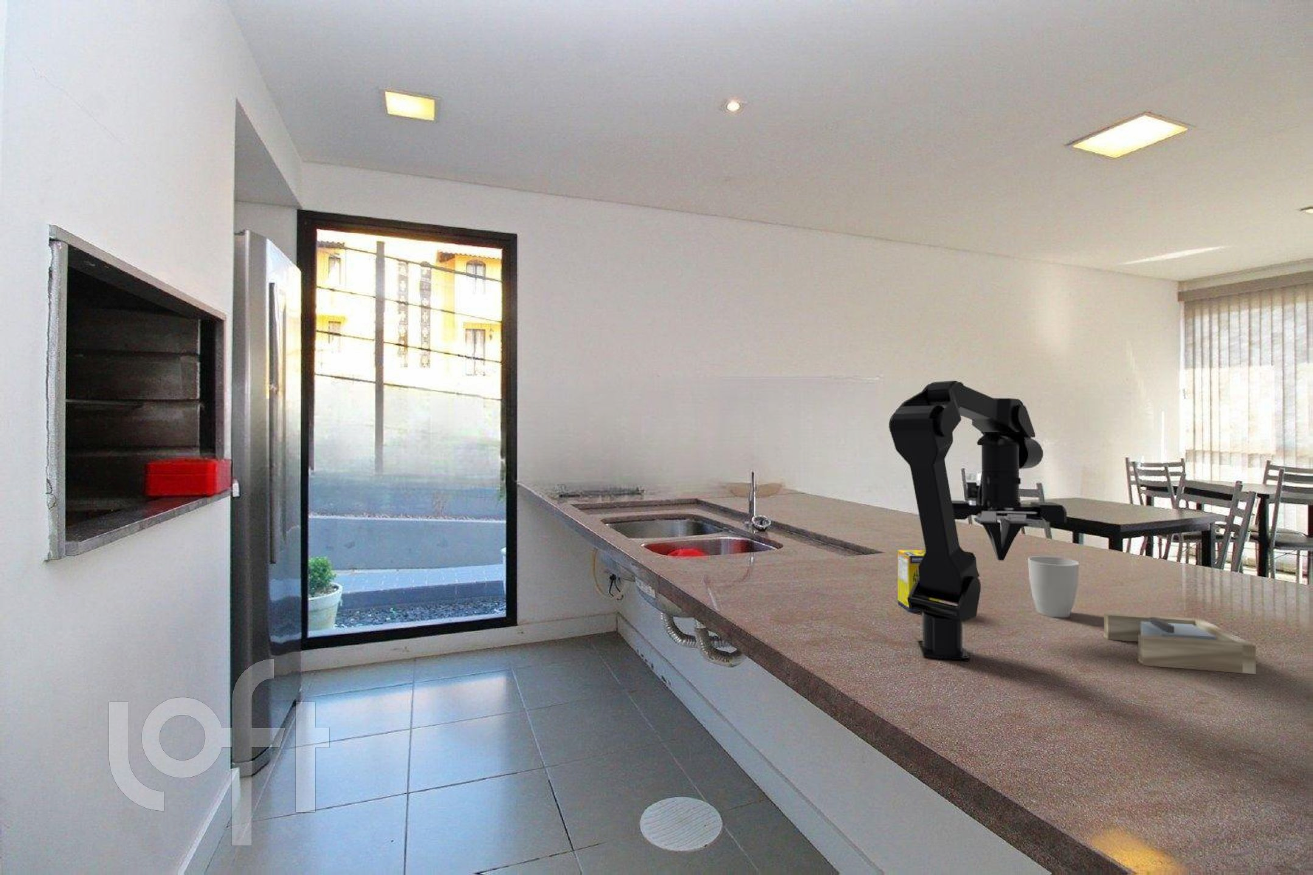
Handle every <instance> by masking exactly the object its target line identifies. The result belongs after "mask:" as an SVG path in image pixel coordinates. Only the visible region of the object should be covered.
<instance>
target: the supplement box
mask: <svg viewBox="0 0 1313 875" xmlns="http://www.w3.org/2000/svg"><path fill="white" fill-rule="evenodd" d="M924 554H925V549H898V550H897V604H898V605H900V606H901V607H903V609H905V610H906V611H908V612H911V613H915V612H917V613H922V612H921V611H917V610H911V609H909V604H908V600H907V598H908V596H909V593H910V591H911V589H912V587H913V585H914V583H915V581H916V579H917V577H918V575H919V574H918V565H919V563H920V562H921V560H922V558H923V556H924ZM929 600H933V601H937V602H940V600H937V599H932V598H929Z"/></svg>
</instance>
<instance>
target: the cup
mask: <svg viewBox="0 0 1313 875" xmlns="http://www.w3.org/2000/svg"><path fill="white" fill-rule="evenodd" d="M1027 562H1028V578H1029V580H1028V581H1029V585H1030V591H1031V595H1032V599H1033V602H1034V605H1035V609H1036V612H1037V613H1038V614H1041V615H1043V616H1047V617H1053V618H1068V617H1070V614H1071V612H1072V609H1073V607H1074V605H1075V600H1076V595H1077V590H1078V585H1079V574H1080V573H1079V570H1080V563H1079V562H1078V561H1077V560H1073V559H1070V558H1064V557H1059V556H1058V557H1057V556H1042V555H1039V556H1029V557H1028V558H1027Z"/></svg>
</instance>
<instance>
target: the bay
mask: <svg viewBox="0 0 1313 875" xmlns="http://www.w3.org/2000/svg"><path fill="white" fill-rule="evenodd" d="M1151 617H1157V618H1159V619H1161V620H1163V621H1165V622H1166V623H1176V624H1192V625H1194V626H1196V627H1198V628H1200V629H1202V630H1204V631H1206V632H1208V633H1210V634H1212V635H1214V636H1216V637H1217V640H1207V639H1192V638H1177V637H1162V636H1148V635H1141V622H1151ZM1103 629H1104V630H1103V631H1104V632H1103V636H1104V638H1105V639H1107V640H1111V641H1112V640H1114V641H1127V642H1138V644H1137V645H1138V646H1137V647H1138V648H1137V650H1138V652H1137V653H1138V657H1137V658H1138V660H1137V661H1138V663H1140V665H1143V666H1148V667H1149V666H1150V667H1160V668H1161V667H1162V668H1163V667H1164V668H1174V669H1188V670H1200V671H1212V672H1226V673H1238V674H1252V675H1256V666H1257V665H1256V664H1257V663H1256V658H1257V657H1256V650H1257V649H1256V645H1255V644H1253V643H1251V642H1249V641H1247V640H1245V639H1243V638H1241V637H1239V636H1236V635H1234V634H1232V633H1230V632H1229V631H1227V630H1225V629H1223V628H1221V627H1219V626H1217V625H1214V624H1212V623H1211V622H1209V621H1207V620H1204V619H1203V618H1201V617H1200V618H1198V617H1183V616H1182V617H1181V616H1164V615H1153V614H1151V615H1147V614H1133V613H1131V614H1130V613H1118V612H1116V613H1113V612H1103Z"/></svg>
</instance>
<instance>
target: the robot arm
mask: <svg viewBox="0 0 1313 875" xmlns="http://www.w3.org/2000/svg"><path fill="white" fill-rule="evenodd" d="M962 417H964V418H967V419H970V420H971V425H972V427H974V428H975V429H977V430H978V431H979V432H980V434H982V436H981V437H980V438H978V440H977V441H976V444H977V446H981V475H980V483H979V485H978V483H977V482H975V481H974V482H973V481H969V482H968V481H966V482H965V483H963V496H964V497H963V498H964V500H958V499H957V500H954V499H953V500H952V495H951V488H950V483H949V479H948V478H949V476H948V472H947V465H946V461H945V460H946V458H947V455H948V453H949V450H950V449H951V447H952V445H953V443H954V436H953V435H954V434H953V432H954V431H955V429H957V426H958V425H959V424H960V423H961V421H962ZM888 429H889V432H890V435H891V439H892V441H893V445H894V448H895V450H896V452H897V454H899V455H900V456H901V457H902V459H903V460H904V461H905V463H907V464H908V465H909V469H910V473H911V474H910V475H911V479H912V485H913V490H914V496H915V500H916V504H917V505H916V506H917V511H918V516H919V522H920V528H921V533H922V538H923V544H924V550H925V554H924V556H923V558H922V560H921V562H920V563H919V565H918V574H919V575H918V577H917V579H916V581H915V583H914V585H913V587H912V589H911V591H910V593H909V596H908V598H907V600H908V604H909V609H911V610H917V611H921V612H920V613H922V614H921V615H922V616H921V617H922V618H921V619H922V630H921V632H922V640H917V641H916V642H917V646H918V648H919V651H920V653H921V656H923V657H924V658H931V659H943V660H944V659H945V660H956V661H970V656H969V654H968V653H967V651H966V650H965V648H964V647H963V646H964V645H963V644H964V643H963V641H964V640H963V636H964V634H963V632H964V631H963V630H964V629H963V622H966V621H968V620H971V619H974V618H976V617H977V613H978V609H979V608H978V607H979V601H980V597H981V596H980V595H981V590H982V587H981V585H982V584H981V580H980V579H979V577H980V573H979V571H978V566H977V557H976V556H975V554H974V552H972V551H965V550H963V548H962V547H961V546H960V541H959V535H958V528H957V525H956V521H958V520H961V521H965V520H967V519H968V518H969V517H970V516H975V517H974V518H973V519H974V522H975V523H977V524H979V525H981V526H983V528H984V530H985V532H986V534H987V535H988V537H989V541H990V542H991V544H990V545H991V546H992V549H993V552H994V554H995V558H996V560H998V561H1002V562H1003V561H1005V559H1006V557H1007V555H1008V552H1009V550H1010V548H1011V545H1012V544H1013V543H1014V540H1015V539H1016V537H1017V535H1018V534H1019V532H1020V531H1021V529H1022V528H1023V527H1029V523H1028V522H1026V519H1027V518H1030V517H1031V518H1041V519H1042V520H1044V522H1046V523H1067V520H1068V519H1067V518H1068V517H1067V516H1068V513H1067V510H1066V507H1064V506H1063V504H1059V503H1057V502H1052V501H1050V502H1049V501H1030V504H1029V505H1021V504H1022V502H1021V501H1020V485H1021V481H1022V480H1021V477H1020V470H1026V469H1032V468H1035V467H1037V466H1038V465H1039V464H1040V463H1041V462H1042V460H1043V456H1044V450H1043V448H1042V446H1041V444H1040V443H1039V442H1038V441H1037V440H1035V439H1034V438H1036V433H1035V430H1034V425H1033V423H1032V421H1031V417H1030V414H1029V412H1028V409H1027V406H1026V405H1024V402H1023V401H1022V400H1020V399H1019V398H1012V397H1011V398H1009V397H1007V398H1005V397H1002V398H1000V397H998V398H997V397H992V396H989V395H987V394H985V393H983V392H980V391H978V390H975V389H973V388H970V387H969V386H966V385H964V383H963V381H962V382H961V381H957V380H946V381H945V380H944V381H933V382H931V383H928V384H927V385H926V386H924V388H923V389H922V391H921V392H919V393H917V394H915V395H913V396H912V397H910V398H908V399H906V400H904V401H903V402H901V404H900V406H898V408H897V409H895V412H893V414H892V415H891V416H890V418H889V422H888ZM967 501H968V502H967ZM970 501H971V502H972V501H974V502H975V504H969V502H970ZM997 517H1002V518H1000V519H999V520H1000V521H998V520H997ZM929 598H932V599H937V600H939V602H937V601H933V600H929ZM949 603H950V604H949ZM954 604H956V605H954Z"/></svg>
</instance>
